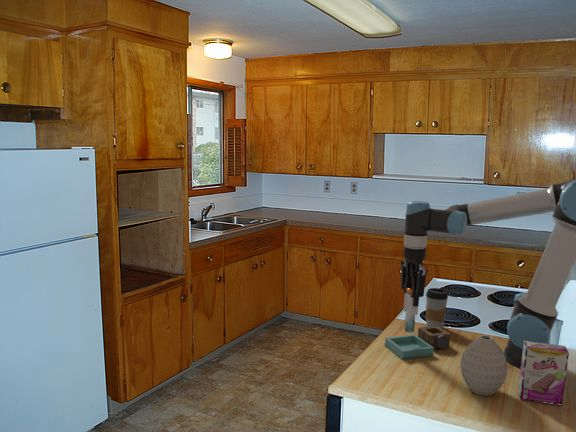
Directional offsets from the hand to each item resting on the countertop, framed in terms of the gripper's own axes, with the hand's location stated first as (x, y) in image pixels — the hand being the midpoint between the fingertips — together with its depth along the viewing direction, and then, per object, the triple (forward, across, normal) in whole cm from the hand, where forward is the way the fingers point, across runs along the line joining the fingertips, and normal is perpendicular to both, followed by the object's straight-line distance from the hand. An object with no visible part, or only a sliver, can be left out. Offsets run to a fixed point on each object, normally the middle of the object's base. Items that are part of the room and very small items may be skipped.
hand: (410, 312), depth 177 cm
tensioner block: (+14, +3, -12) cm, 19 cm away
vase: (+14, -31, -6) cm, 35 cm away
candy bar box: (+14, -40, -19) cm, 47 cm away
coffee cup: (+14, +17, -22) cm, 31 cm away
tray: (+14, 0, 0) cm, 14 cm away
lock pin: (+7, 0, 0) cm, 7 cm away
